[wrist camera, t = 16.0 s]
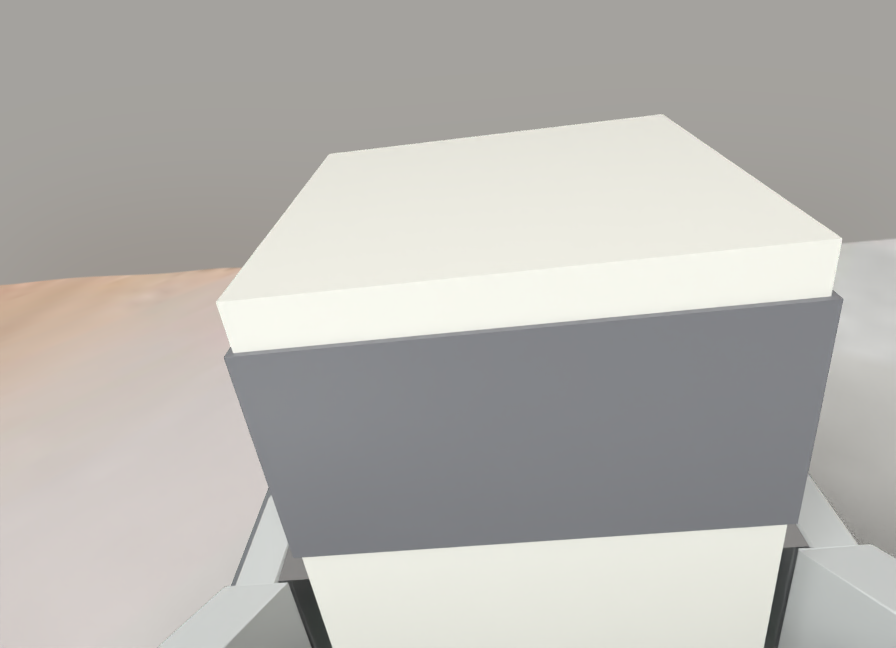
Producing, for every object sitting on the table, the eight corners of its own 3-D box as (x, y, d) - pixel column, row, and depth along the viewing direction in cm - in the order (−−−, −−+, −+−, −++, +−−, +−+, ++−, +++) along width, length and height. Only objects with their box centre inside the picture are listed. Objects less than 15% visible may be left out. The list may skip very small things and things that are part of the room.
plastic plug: (642, 642, 12) (665, 113, 7) (716, 920, 9) (854, 241, 4) (433, 654, 12) (326, 153, 8) (421, 926, 9) (206, 305, 4)
